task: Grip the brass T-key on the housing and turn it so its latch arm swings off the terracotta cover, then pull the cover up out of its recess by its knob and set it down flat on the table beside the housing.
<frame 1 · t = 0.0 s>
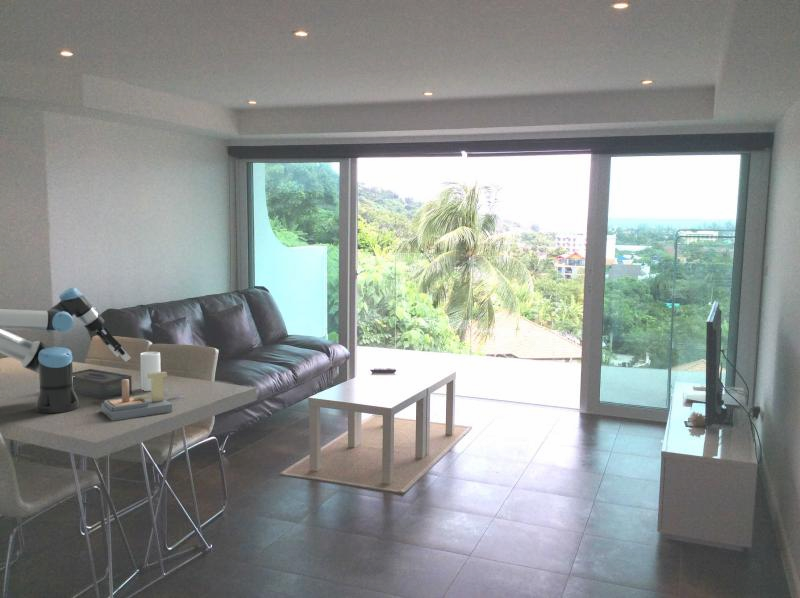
hand: (123, 357, 291), 15 cm above the table, tool tilted 35°, fingers open, 13 cm apart
key: (150, 387, 264), point 9 cm above the table, hinge at 0.0°
cup: (151, 389, 299), on the table
cover: (125, 405, 259), point 3 cm above the table, touching housing
housing: (136, 411, 261), on the table
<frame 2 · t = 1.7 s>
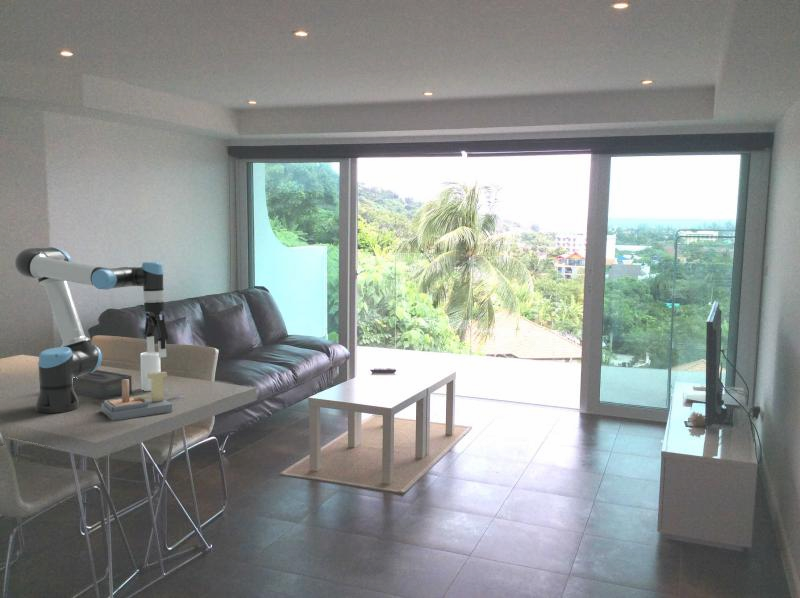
hand: (156, 355, 266), 21 cm above the table, tool pointing down, fingers open, 13 cm apart
nothing on the table moved.
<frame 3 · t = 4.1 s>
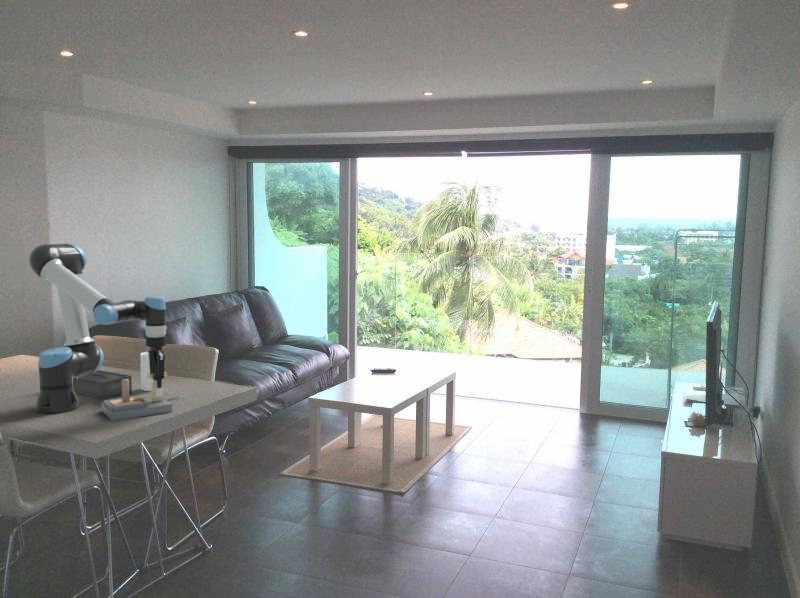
hand: (157, 394, 266), 6 cm above the table, tool pointing down, fingers closed on key, 2 cm apart
key: (150, 387, 264), point 9 cm above the table, hinge at 0.0°, touching gripper
everything else where it was.
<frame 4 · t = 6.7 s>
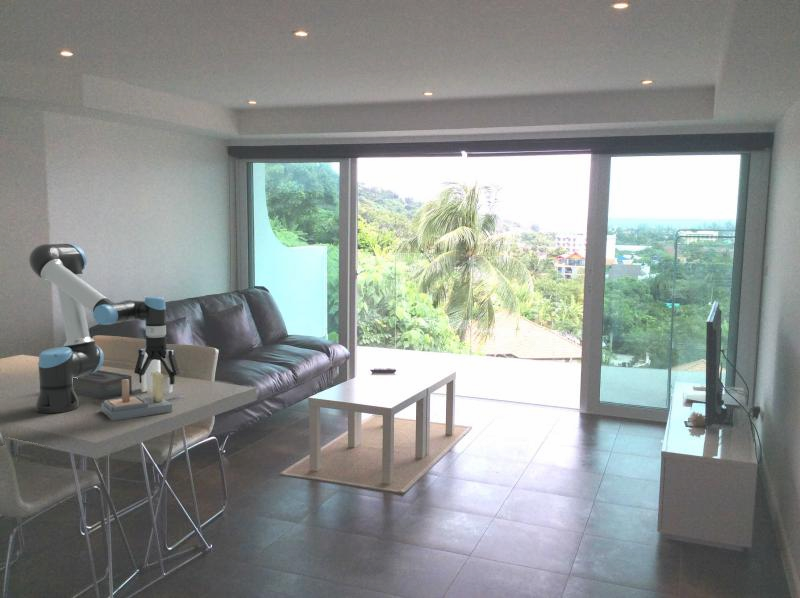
hand: (157, 391, 266), 7 cm above the table, tool pointing down, fingers open, 10 cm apart
key: (154, 385, 268), point 9 cm above the table, hinge at -87.1°
everything else where it was.
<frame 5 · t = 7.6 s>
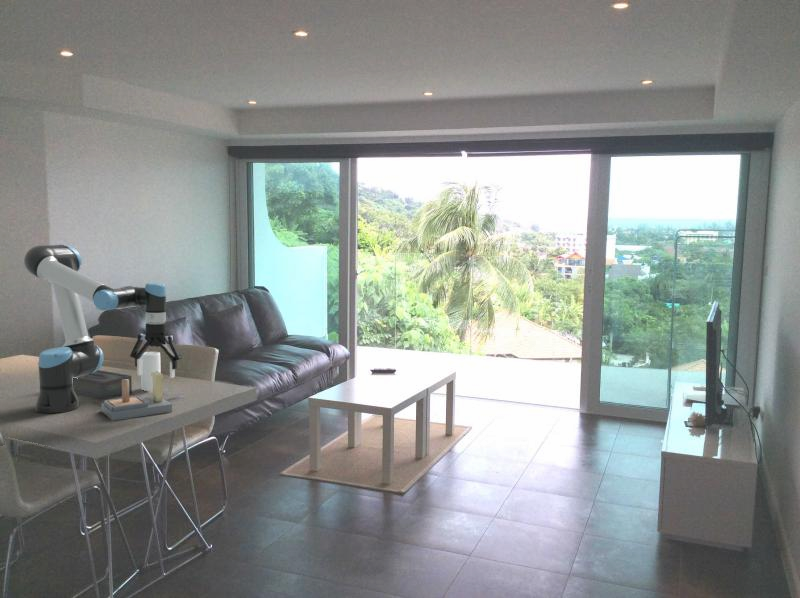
hand: (156, 376, 265), 13 cm above the table, tool pointing down, fingers open, 13 cm apart
key: (155, 385, 268), point 9 cm above the table, hinge at -89.9°
everything else where it was.
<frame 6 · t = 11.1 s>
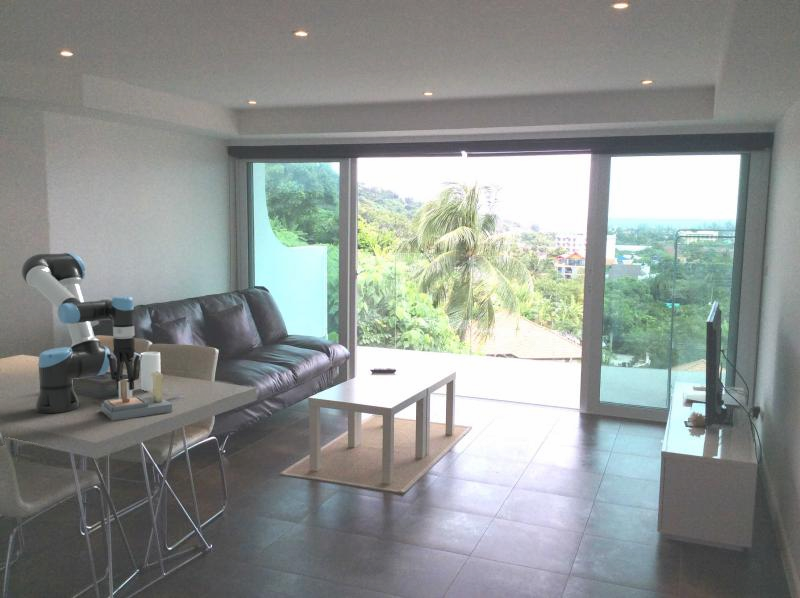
hand: (125, 397, 258), 6 cm above the table, tool pointing down, fingers closed on cover, 2 cm apart
key: (155, 385, 268), point 9 cm above the table, hinge at -90.8°
cover: (125, 405, 259), point 3 cm above the table, touching gripper, housing
everything else where it was.
when the fingers open (4 cm above the table, at t = 18.0 s): cover drops 3 cm, on the table.
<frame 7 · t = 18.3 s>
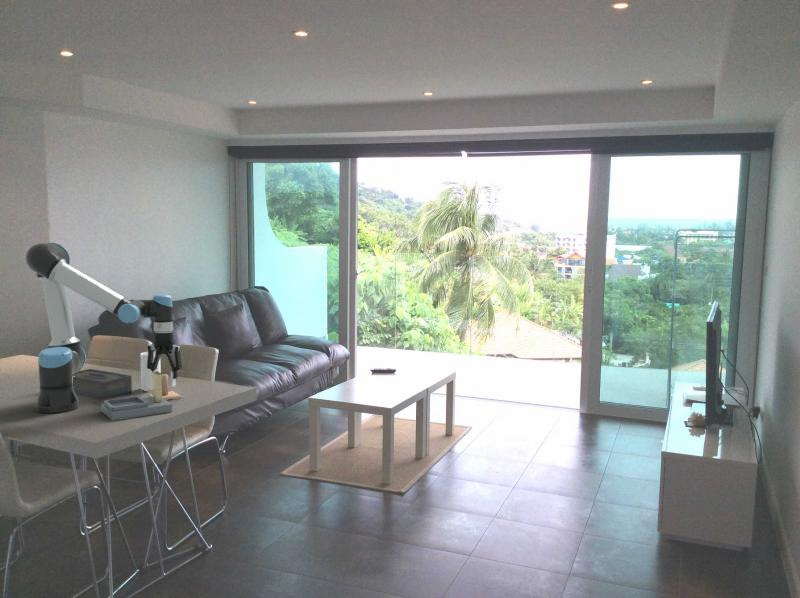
hand: (164, 385, 283), 5 cm above the table, tool pointing down, fingers open, 7 cm apart
cover: (165, 398, 284), on the table
everything else where it was.
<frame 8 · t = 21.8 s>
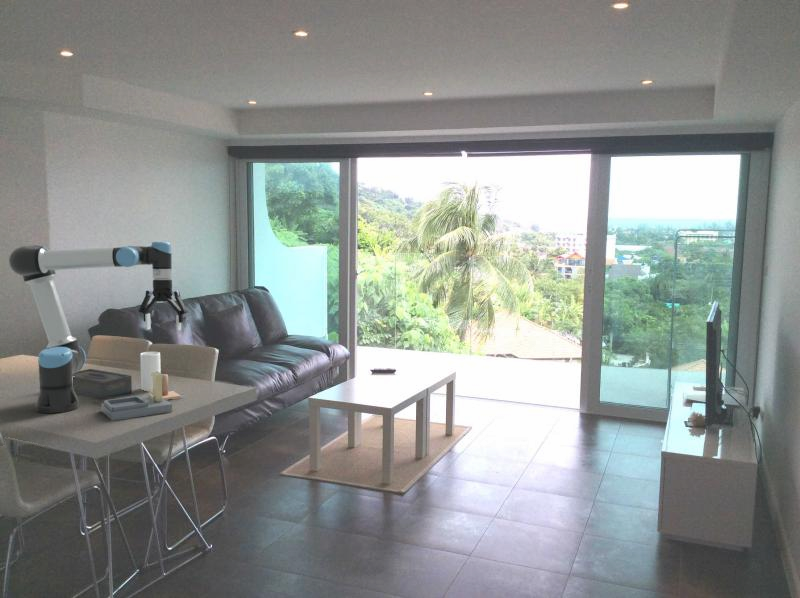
hand: (163, 330, 281), 29 cm above the table, tool pointing down, fingers open, 13 cm apart
nothing on the table moved.
at the end: key at -91° (first picture: +0°); cover inside the target area (0.0 cm from its centre), on the table; cover tilted 0° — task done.
